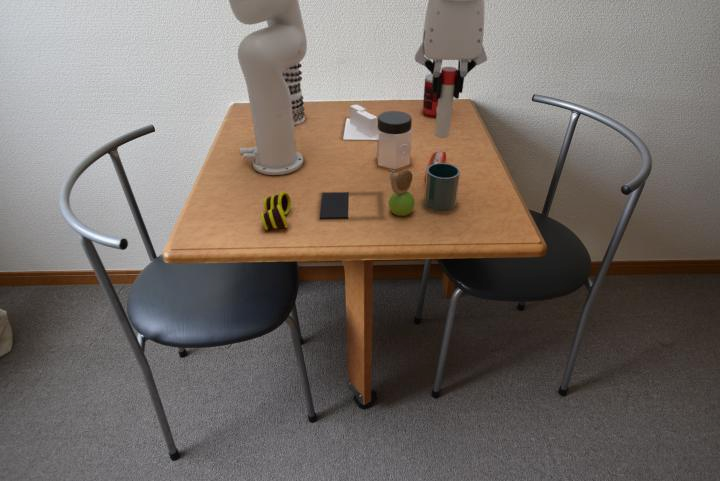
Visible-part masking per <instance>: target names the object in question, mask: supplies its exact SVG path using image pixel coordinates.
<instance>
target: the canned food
mask: <svg viewBox="0 0 720 481" xmlns="http://www.w3.org/2000/svg"><path fill="white" fill-rule="evenodd" d="M432 79H433V74H432V73H431V72H430V73H428V74H426V75H425V76H424V85H423V86H424V87H423V101H422V102H423V103H422V113H423V114H424V115H425V116H427V117H429V118H436V117H437V108H438V99H436V97H435V94H434V93H432Z"/></svg>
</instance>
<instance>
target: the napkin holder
mask: <svg viewBox="0 0 720 481" xmlns="http://www.w3.org/2000/svg"><path fill="white" fill-rule="evenodd" d="M377 125H378V116H376V115H374V114H372V113H370V112H368V111H367V109H366V108H365V107H364V106H361V105H359V104H356V103H355V104H352V105H349V117H347V118H346V120H345V125H344V131H343V137H342V140H347V141H348V140H352V141H353V140H354V141H355V140H359V141H377Z"/></svg>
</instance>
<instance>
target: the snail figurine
mask: <svg viewBox="0 0 720 481" xmlns="http://www.w3.org/2000/svg"><path fill="white" fill-rule="evenodd" d="M389 172H390V173H389V174H390V176H389V180H390V186H391V190H392V192H393V193H392V194H391V195H390V197H389V200H388V208H389V210H390V212H391V213H392V214H394V215H395V216H398V217H406V216H408V215H411V213H412V212H413V210H414V208H415V205H416V202H415V199H414V196H413V195H412V193H411V192H409V189H410V188H411V184H412V181H413V173H412V171H410V169H403V170H400V172H399V173H398V174H397V175H396V173H395V169H392V168H389Z"/></svg>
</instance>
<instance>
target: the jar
mask: <svg viewBox="0 0 720 481" xmlns="http://www.w3.org/2000/svg"><path fill="white" fill-rule="evenodd" d="M377 117H378V125H377V140H376V161H377V165H378V166H379V167H384V168H388V169H392V170H397V169H400V168H403V167H406V166H409V165H410V164H411V163H410V162H411V151H412V150H411V149H412V148H411V147H412V126H413V125H412V123H413V121H412V116H411V114H409V113H407V112H404V111H400V110H399V111H398V110H389V111H384V112H382V113H380V114H379V115H378V116H377Z"/></svg>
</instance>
